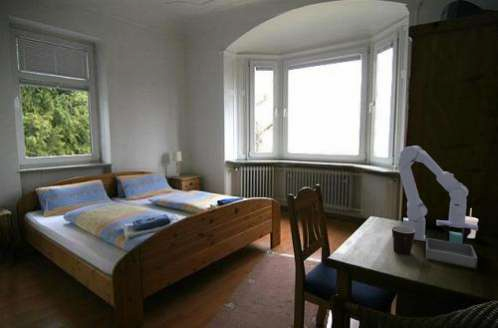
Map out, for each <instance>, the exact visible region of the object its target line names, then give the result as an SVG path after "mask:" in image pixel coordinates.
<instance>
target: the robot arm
mask: <svg viewBox="0 0 498 328" xmlns="http://www.w3.org/2000/svg"><path fill="white" fill-rule="evenodd" d="M415 162H418V163H422V164H424V166H426V168H428V169H429V170H430V171H431V172H432V173H433V174H434V175H435V176H436V181H437V182H438V184H440V185H441V186H442V187H443V188H444V190H445V191H447V192H448V195H449V198H450V201H449V212H448V220H441V219H436V226H441V227H442V229H443V232H444V233H445V238H446V241H449V231H450V230H451V229H450V228H458V229H462V232H461V233H462V236H463V239H462V244H466V243H465V242H466V240H467V239H468V238H467V237H468V236H469V234H470V233H471V230H475V231H476V232H477V231H479V226H478V224H477V225H473V224H468V223H465V216H467V215H466V213H467V196H468V195H469V189H468V188H467V186H465V185H464V184H463V183H462V182H459V181H458V180H457V179H456V178H455V177H454V176H455V174H453V172H452V173H450V172H449V171H444V170H443V169H442V168H441V167H440V166H439V165H438V163H437V162H436V161H435V160H434V159H433V158H432V157H431V156H430V154H428V152H427V151H425V150H424V149H422V147H421V146H419V145H411V146H406V147H404V148H403V149H402V151H400V153H399V159H398V163H397V169H398V172H399V175H400V176H399V177H400V179H401V182H402V186H403V189H404V193H405V196H406V199H407V203H406V208H407V210H406V215H407V217H403V218H402V219H403V221H402V226H405V227H409V228H412V229H414V230H415V235H414V240H415V241H421V242H426V235H425V232H426V218H425V216H426V215H427V214H428V208H427V207H426V206H425V204H424V202H423V201H422V199H421V198H420V194H419V191H418V189H417V184H416V181H415V177H414V174H413V170H412V167H411V166H412V165H414V163H415ZM450 232H451V231H450ZM414 240H413V241H414Z"/></svg>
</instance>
